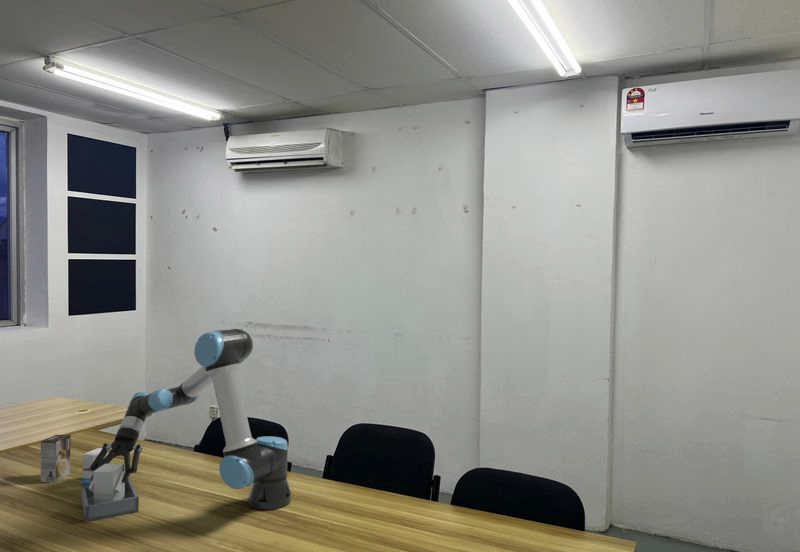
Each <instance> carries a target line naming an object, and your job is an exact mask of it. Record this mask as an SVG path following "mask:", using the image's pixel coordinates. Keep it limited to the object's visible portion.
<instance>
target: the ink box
mask: <svg viewBox="0 0 800 552" xmlns="http://www.w3.org/2000/svg"><path fill="white" fill-rule="evenodd" d="M101 450H102V448H101V447H97V448H95V449H92V450H90V451H87V452H85V453H84V454H82V485H83V486H84V485H85V486H89V485H90V484H91V482H92V481H91V477H92V475H93V471H92V470H91V468H90V466H91V465H92V463H93V462H94V460H95V459H96V457H97V456H98V454H99V453H100V451H101ZM109 451H110V450H109ZM109 451H108V453H107V454H106V456H107V455H108V454H109ZM106 456H105V457H106ZM105 457H104V458H105Z"/></svg>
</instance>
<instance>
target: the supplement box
mask: <svg viewBox="0 0 800 552" xmlns="http://www.w3.org/2000/svg"><path fill="white" fill-rule="evenodd" d="M122 471H123V472H125V463H108V464H104V465H102V466H101V467H99V468H98V469H96V470H95V471H93V489H94V504H99V503H104V502H110V501H115V500H121V499H125V484H123V487H122V489H121V492H120V493H117V491H116V490H115V488H116V486H117V483H118V481H119V478H120V476H121V474H122Z"/></svg>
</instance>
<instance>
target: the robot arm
mask: <svg viewBox="0 0 800 552" xmlns="http://www.w3.org/2000/svg"><path fill="white" fill-rule="evenodd" d="M253 347H254V342H253V339H252V337H251V335H250V334H249V333H248V332H247V331H245V330H244V329H241V328H231V329H221V330H219V329H218V330H212V331H208V332H204V333H203V334H201V335H200V336H199V337H198V338H197V341H196V342H195V345H194V349H193V350H194V354H193V355H194V358H195V361H196V362H197V363H198V364H199V365H200V368H198V369H197V370H196V371H195V372H194V373H192V375H190V376H189V377H188V378H187V379H186V380H184V381H183V382H182V383H181V384H180V385H178V386H175V387H172V388H161V389H158V390H157V389H156V390H154V391H152V392H150V393H149V392H146V391H141V392H140V391H139V392H136V393H134V395H133V396H132V399H131V400H130V401H129V404H128V406H127V410H126V411H125V414H124V416H123V419H122V421H121V423H120V425H119V428H118V430H117V432H116V435H115V437H114V439H113V440H114V441H113V442H112V443H107V442H106V443H105V442H104V443H103V445H102V450H101V451H100V453H99V454H98V456H97V457H96V459H95V460H94V462H93V463H92V465H91V466H90V468H91V470H92V471H95V470H96V469H98V468H99V467H101V466H102V465H104V464H110V462H111V461H113V459H115V458H116V457H120V456H121V457H123V460H124V461H123V462H124V463H123V464H124V472H123V471H122V474H121V476H120V478H119V481H118V483H117V486H116V488H115V490H116V491H117V493H120V492H121V489H122V487H123V484H124V483H126V482H127V480H128V479H129V477H130V475H132V474H136V473H137V471H138V467H139V465H138V464H139V459H140V456H141V452H142V450H143V447H142V446H141V444H139V443H138V444H137V442H138V439H139V437H140V433H141V431H142V429H143V426H144V424H145V422H146V419H147V417H148V416H151V415H153V414H156V413H158V412H161V411H166V410H169V409H173V408H177V407H181V406H186V405H187V406H188V405H190V404H193V403H195V402H197V400H198V398H199V395H200V393H202V392H204V390H205V389H208V387H210V386H211V385H213V388H214V389H213V390H214V394H215V399H216V403H217V407H218V411H219V416H220V422H221V426H222V431H223V435H224V439H225V440H224V441H225V447H224V448H223V450H222V452H223V458H222V459H221V461H220V464H219V465H218V466H219V467H218V469H219V475H220V477H221V479H222V481H223V482H224V484H225V485H227V486H228V487H229V488H231V489H234V490H240V489H243V488H246V487H249V486H251V485H252V487H251V490H250V491H249V492H250V493H249V495H248V505H249V506H250V507H251V508H254V509H258V510H265V511H267V510H276V509H280V508H283V507H286V506H287V505H289V504H290V503H291V501H292V492H291V489H290V484H289V482H288V454H289V453H288V452H289V448H288V441H287V439H285V438H284V437H283V438H282V437H280V436H279V437H278V436H270V435H269V436H259V437H257V438H256V439H255V438H253V436H252V433H251V429H250V424H249V420H248V415H247V412H246V411H247V410H246V406H245V402H244V397H243V393H242V388H241V384H240V379H239V375H238V368H239V367H240V365H241V363H243V362H244V361H245V360H247V358H248V357H249V356H250V355H251V353H252V351H253ZM108 451H109V453H108ZM132 451H133V453H132V454H133V455H132V460H131V452H132ZM107 453H108V455H107V456H106V454H107ZM105 456H106V457H105ZM104 457H105V458H104ZM91 481H92V482H91V484H90V487H89V490H90V491H91V492H94V489H93V475H92V477H91Z"/></svg>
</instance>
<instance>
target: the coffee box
mask: <svg viewBox="0 0 800 552" xmlns="http://www.w3.org/2000/svg"><path fill="white" fill-rule="evenodd" d="M71 437H72V435H71V434H54V435H52V436H50V437H48V438H45V439H43V440H41V441H40V482H41V483H58V482H59V481H61V480H62V479H64V478H66V477H68V476H69V475H71V445H72V444H71V440H72V439H71Z"/></svg>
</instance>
